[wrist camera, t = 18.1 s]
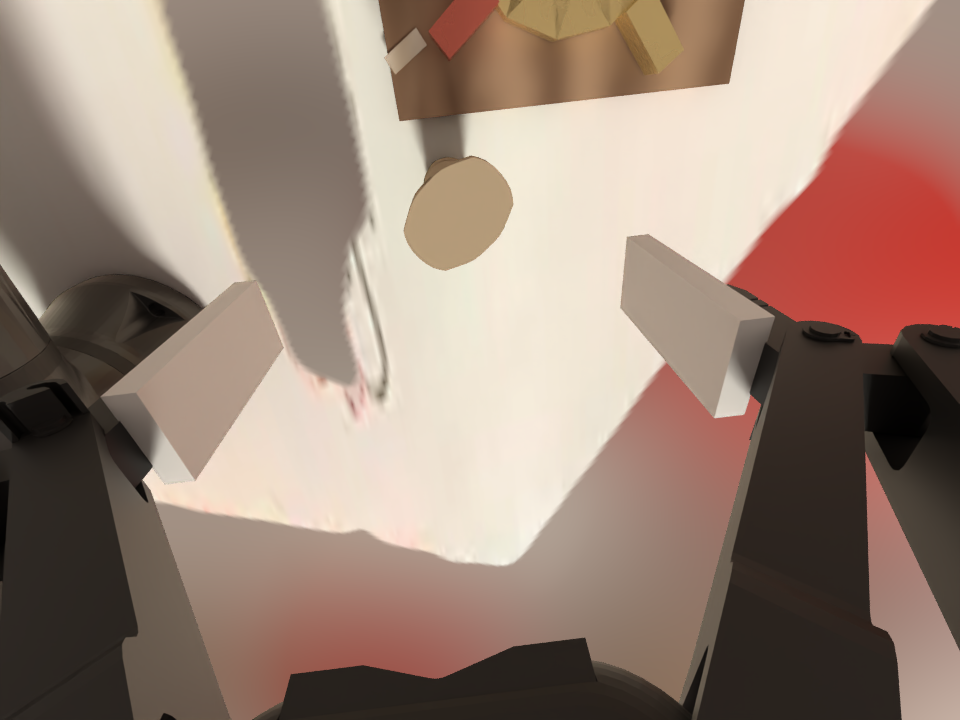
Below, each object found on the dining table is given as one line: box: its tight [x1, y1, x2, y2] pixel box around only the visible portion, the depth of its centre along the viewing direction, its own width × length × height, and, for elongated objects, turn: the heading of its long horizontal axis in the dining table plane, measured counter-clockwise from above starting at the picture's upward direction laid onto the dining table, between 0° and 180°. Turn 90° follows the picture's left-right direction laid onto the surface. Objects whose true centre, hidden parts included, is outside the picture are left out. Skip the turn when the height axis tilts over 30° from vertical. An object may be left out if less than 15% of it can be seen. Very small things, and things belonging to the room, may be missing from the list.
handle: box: [404, 156, 513, 271], centre depth 29 cm, size 5×6×15 cm
